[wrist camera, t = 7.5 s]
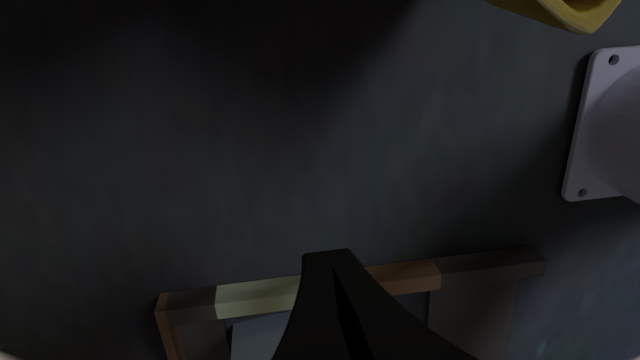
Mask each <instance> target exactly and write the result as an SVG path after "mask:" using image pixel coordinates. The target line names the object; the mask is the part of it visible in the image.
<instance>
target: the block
mask: <svg viewBox="0 0 640 360" xmlns="http://www.w3.org/2000/svg"><path fill="white" fill-rule="evenodd" d="M291 312H292V310H291V311H287V312H283V313H278V314H274V315H270V316H266V317H261V318H257V319H253V320H248V321H244V322H240V323H235V324H233V333H232V347H231V360H271V359H272V357H273V355H274V353H275V351H276V349H277V347H278V344H279V342H280V340H281V338H282V335H283V333H284V331H285V328H286V326H287V323H288V320H289V317H290V314H291Z"/></svg>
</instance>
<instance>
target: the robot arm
mask: <svg viewBox="0 0 640 360" xmlns="http://www.w3.org/2000/svg"><path fill="white" fill-rule="evenodd" d="M612 55H613V59H612V61H611V62H610V63H609V62H608V60H609V58H610V57H611V56H612ZM581 189H582V191H581V192H580V193H579V191H580V190H581ZM561 196H562V197H563V198H564V199H565V200H567V201H569V202H573V201H582V200H590V199H599V198H607V197H615V196H626V197H627V198H629V199H631V200H633V201H634V202H636V203H638V204H639V205H640V45H639V46H627V47H615V48H603V49H598V50H596V51H595V52H593V53H592V55H591V56H590V58H589V62H588V66H587V71H586V76H585V81H584V85H583V90H582V95H581V100H580V105H579V109H578V114H577V119H576V124H575V129H574V133H573V138H572V143H571V148H570V152H569V157H568V162H567V167H566V172H565V176H564V181H563V186H562V191H561ZM271 360H479V359H477V358H475V357H474V356H472V355H470V354H468V353H467V352H465V351H464V350H462V349H460V348H459V347H457V346H455V345H454V344H452V343H451V342H449V341H447V340H446V339H444V338H443V337H441V336H440V335H438V334H437V333H436V332H434V331H433V330H431V329H430V328H429V327H427V326H426V325H425V324H423V323H422V322H421V321H420V320H418V319H417V318H416V317H415V316H414V315H412V314H411V313H410V312H409V311H408V310H406V309H405V308H404V307H403V306H402V305H401V304H400V303H399V302H397V301H396V300H395V299H394V298H393V297H392V296H391V295H390V294H389V293H388V292H387V291H386V290H385V289H384V288H383V287H382V286H381V285H380V284H379V283H378V282H377V281H376V280H375V279H374V278H373V277H372V275H371V274H370V273H369V272H368V271H367V270H366V269H365V268H364V266H363V265H362V264H361V263H360V262H359V260H358V259H357V258H356V257H355V255H354V254H353V253H352V251H350V250H349V249H348V248H345V249H337V250H329V251H321V252H313V253H305V254H304V255H303V256H302V272H301V278H300V283H299V287H298V291H297V295H296V299H295V303H294V306H293V309H292V312H291V314H290V317H289V320H288V323H287V326H286V328H285V331H284V333H283V335H282V338H281V340H280V342H279V344H278V347H277V349H276V351H275V353H274V355H273V357H272V359H271Z"/></svg>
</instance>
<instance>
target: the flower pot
mask: <svg viewBox="0 0 640 360" xmlns="http://www.w3.org/2000/svg"><path fill="white" fill-rule="evenodd" d="M484 1H486V2H488V3H490V4H492V5H494V6H497V7H500V8H503V9H505V10H508V11H511V12H514V13H517V14H519V15H522V16H525V17H528V18H531V19H533V20H536V21H539V22H542V23H545V24H548V25H550V26H553V27H556V28H560V29H563V30H566V31H569V32H572V33H575V34H580V35H589V34H592V33H593V32H595V31H596V30H597V29H598V28H599V27H600V26H601V25H602V24H603V23H604V22H605V20H606V19H607V18H608V17H609V16H610V15H611V14H612V12H613V11H614V9H615V8H616V7H617V6H618V4H619V3H620V2H621V1H622V0H484Z"/></svg>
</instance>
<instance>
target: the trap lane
mask: <svg viewBox="0 0 640 360" xmlns="http://www.w3.org/2000/svg"><path fill="white" fill-rule="evenodd" d="M546 262H547V261H546V260H545V259H544V258H543V257H542V256H541V255H540V254H539V253H538V252H537V251H536V250H535V249H534V248H533V247H532V246H524V247H516V248H508V249H500V250H492V251H485V252H477V253H469V254H461V255H453V256H445V257H437V258H430V259H422V260H414V261H406V262H398V263H390V264H383V265H375V266H367V267H364V268H365V269H366V270H367V271H368V272H369V273H370V274H371V275H372V277H373V278H374V279H375V280H376V281H377V282H378V283H379V284H380V285H381V286H382V287H383V288H384V289H385V290H386V291H387V292H388V293H389V294H390V295H391V296H395V295H402V294H410V293H417V292H425V291H429V299H428V314H427V327H429V328H430V329H431V330H433V331H434V332H436V333H437V334H438V335H440V336H441V337H443V338H444V339H446V340H447V341H449V342H451V343H452V344H454V345H455V346H457V347H459V348H460V349H462V350H464V351H465V352H467V353H468V354H470V355H472V356H474V357H475V358H477V359H479V360H505V357H506V351H507V345H508V340H509V334H510V329H511V323H512V318H513V312H514V307H515V301H516V295H517V290H518V284H519V279H521V278H529V277H536V276H543V275H544V271H545V267H546ZM300 278H301V275H296V276H288V277H281V278H273V279H265V280H257V281H249V282H241V283H234V284H226V285H218V286H210V287H202V288H194V289H187V290H179V291H171V292H163V293H160V295H159V298H158V302H157V305H156V308H155V312H154V313H155V317H156V320H157V324H158V327H159V331H160V334H161V338H162V341H163V345H164V348H165V352H166V355H167V359H168V360H231V353H230V348H229V343H228V338H227V333H226V328H225V323H224V318H232V317H239V316H247V315H254V314H262V313H269V312H276V311H284V310H291V309H293V306H294V303H295V299H296V295H297V291H298V287H299V283H300Z"/></svg>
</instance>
